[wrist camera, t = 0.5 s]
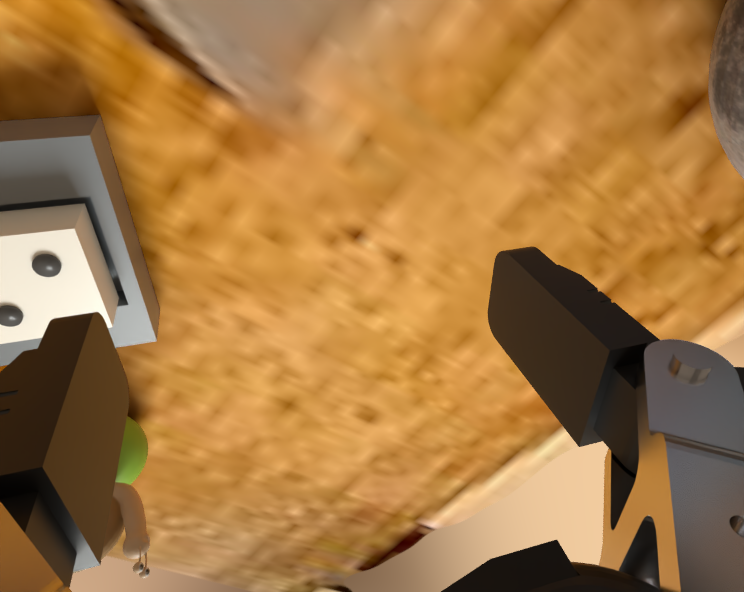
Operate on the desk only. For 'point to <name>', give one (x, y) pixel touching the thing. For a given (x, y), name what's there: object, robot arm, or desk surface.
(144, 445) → the snail figurine
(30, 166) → the socket board
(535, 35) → the desk surface
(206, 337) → the desk surface
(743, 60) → the moon model
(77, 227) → the tile two dots
